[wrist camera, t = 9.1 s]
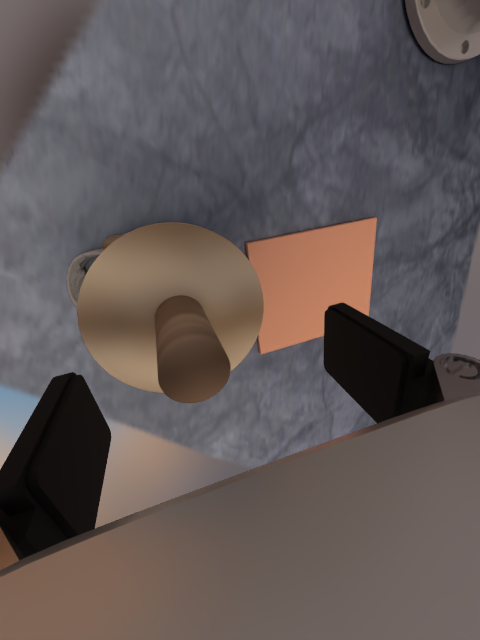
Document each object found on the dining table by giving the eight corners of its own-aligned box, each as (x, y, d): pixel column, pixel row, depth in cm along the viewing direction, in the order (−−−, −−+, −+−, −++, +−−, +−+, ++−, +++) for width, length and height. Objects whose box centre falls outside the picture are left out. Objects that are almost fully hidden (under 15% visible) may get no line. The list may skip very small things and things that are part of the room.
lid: (50, 233, 13) (-32, 258, 7) (254, 213, 16) (319, 219, 10) (111, 401, 18) (92, 502, 12) (261, 363, 21) (308, 430, 15)
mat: (245, 242, 24) (247, 243, 24) (372, 217, 27) (376, 217, 27) (258, 351, 30) (260, 354, 29) (364, 320, 33) (367, 322, 32)
